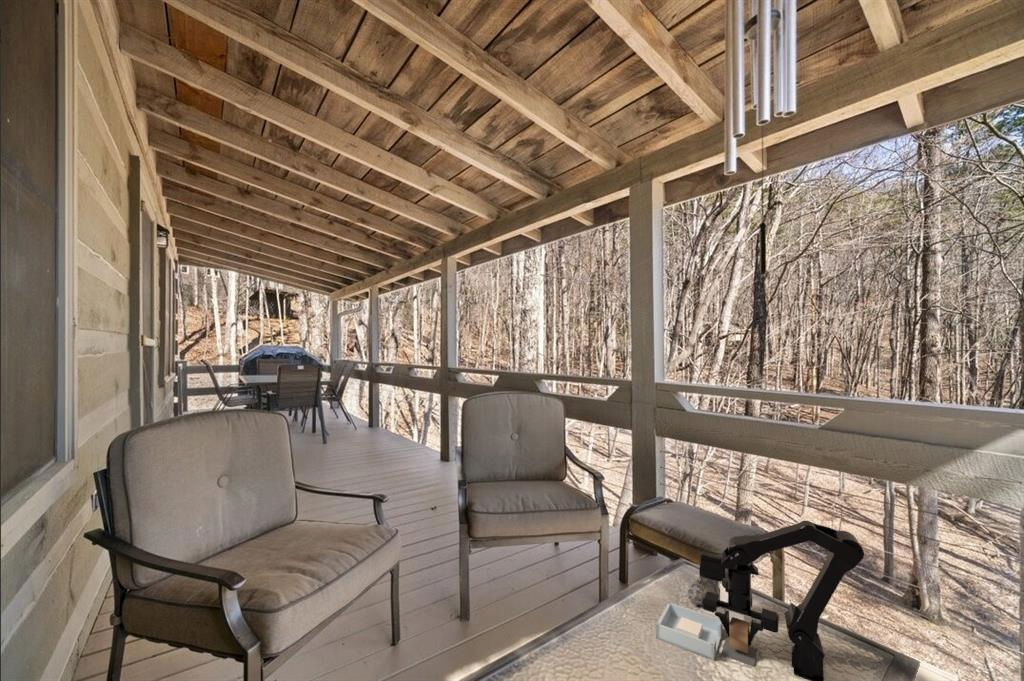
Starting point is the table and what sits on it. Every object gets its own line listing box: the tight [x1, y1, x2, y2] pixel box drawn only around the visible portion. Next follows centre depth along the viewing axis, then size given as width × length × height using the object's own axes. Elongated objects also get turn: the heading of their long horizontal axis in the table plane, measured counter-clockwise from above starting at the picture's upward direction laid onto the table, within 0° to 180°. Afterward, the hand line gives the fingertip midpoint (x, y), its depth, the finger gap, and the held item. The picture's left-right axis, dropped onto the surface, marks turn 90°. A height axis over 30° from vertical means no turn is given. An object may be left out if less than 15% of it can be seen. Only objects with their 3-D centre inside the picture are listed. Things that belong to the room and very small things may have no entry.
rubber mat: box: [720, 636, 758, 668], centre depth 120 cm, size 8×8×1 cm
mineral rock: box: [687, 576, 720, 606], centre depth 146 cm, size 13×11×10 cm
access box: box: [655, 602, 723, 661], centre depth 127 cm, size 16×14×4 cm
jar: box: [719, 572, 753, 624], centre depth 136 cm, size 9×8×12 cm
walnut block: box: [729, 617, 751, 653], centre depth 120 cm, size 4×4×6 cm
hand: (739, 641), depth 120 cm, fingers open, 5 cm apart
